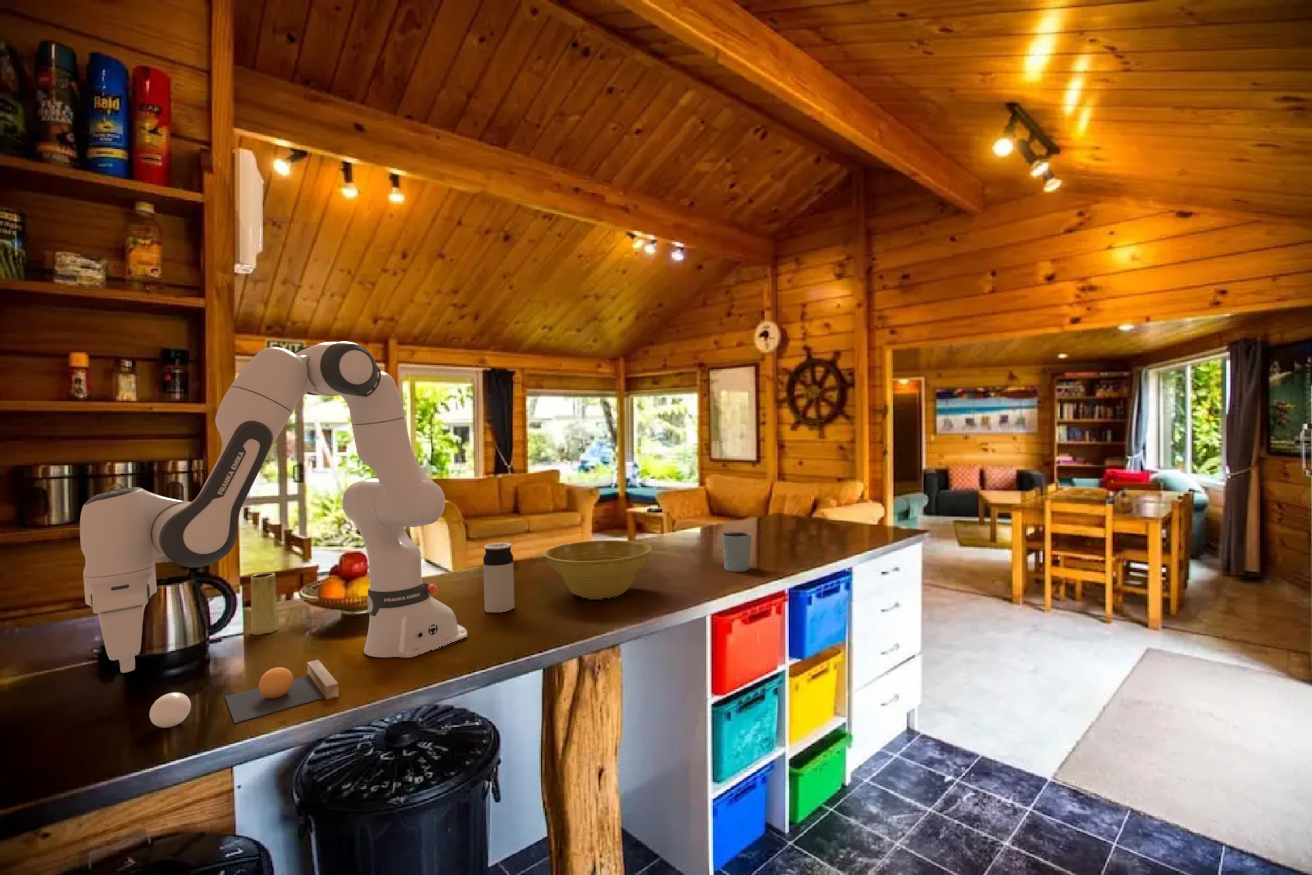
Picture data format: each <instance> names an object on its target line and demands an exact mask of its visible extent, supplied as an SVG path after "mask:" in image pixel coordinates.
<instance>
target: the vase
mask: <svg viewBox="0 0 1312 875" xmlns="http://www.w3.org/2000/svg"><path fill="white" fill-rule="evenodd" d="M276 585H277V584H276V574H275V572H263V573H257V574H254V575H251V576H250V608H251V611H250V612H251V613H250V614H251V616H250V617H251V618H250V635H252V634H253V636H261V634H263V635H266V634H265V633H268V634H272V633H274V631H275V632H277V631H278V630H279V629H280V626H279V615H278V612H279V611H278V601H277V592H276V591H277V589H276Z"/></svg>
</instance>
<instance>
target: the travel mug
mask: <svg viewBox="0 0 1312 875" xmlns="http://www.w3.org/2000/svg"><path fill="white" fill-rule="evenodd" d="M512 546H513V544H512V543H511V542H493V543H487V544H485V545H484V546H483V548H484V549H485V550H484V551H485V553H484V555H483V562H482V563H483V589H484V590H483V595H484V596H483V597H484V598H483V599H484V611H485V612H486V613H488V612H506V611H509V610H511V609H513V608H514V609H515V582H514V581H515V580H514V579H515V575H514V572H515V571H514V570H515V569H514V554H513V553H512V552H511V548H512ZM514 609H513V610H514ZM511 611H512V610H511ZM509 612H510V611H509ZM506 613H507V612H506Z"/></svg>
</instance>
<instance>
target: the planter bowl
mask: <svg viewBox="0 0 1312 875" xmlns="http://www.w3.org/2000/svg"><path fill="white" fill-rule="evenodd" d="M652 551H653V547H652V546H651V545H650V544H648V543H644V542H639V541H632V540H619V539H618V540H616V539H614V540H611V539H610V540H609V539H608V540H607V539H605V540H602V539H601V540H588V541H586V540H585V541H577V542H570V543H567V544H566V543H565V544H560V545H557V546H554V547H550V548H549V549H547V550H545V552H544V553H543V556H544V557H545V558H547V559H548V561H549V564H550V566H551V567H552V569H553V571H555V572H556V573H558V574H559V575H560V576H561V577H562V579H563V581H564V583H565V585H566V586H567V588H568V589H569V590H570V592H571V593H572V594H574V595H576V596H577V595H578V596H580V597H583V598H582V599H584V598H591V599H590V600H594V599H595V600H603V599H602V598H608V599H611V598H610V597H613V598H615V597H614V596H617V595H620V596H622V595H623V594H624V593H625V592H626V591H628V590H629V589H630V587H631V585H632V583H633V581H634V580H635V577H636V575H637V572H638V571H639V570H640V569H641V568H643V567H644V566H645V565H646V562H647V560H648V557H649V554H650V553H652ZM621 594H622V595H621ZM578 596H577V597H578ZM580 597H579V598H580ZM617 597H618V596H617Z"/></svg>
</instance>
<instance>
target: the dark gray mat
mask: <svg viewBox="0 0 1312 875" xmlns="http://www.w3.org/2000/svg"><path fill="white" fill-rule="evenodd" d="M224 699H225V701H226V704H227V707H228V710H229V712H230V715H231V718H232V720H233V724H234V725H236V724H238V723H243V722H246V721H250V720H253V719H257V718H260V717H263V716H267V715H270V714H273V713H277V712H281V711H285V710H288V709H291V708H294V707H295V706H296V707H298V706H302V705H303V706H304V705H305V704H309V703H312V702H317V701H321V700H323V699H326V698H325V696H324V695H323V693H322V692H321V691H320V689H319V688H318V687H317V685H316V684H315V682H314V681H313V680H312V678H311V677H310V676H309V675H308V674H307V675H304V676H298V677H295V678H294V677H293V685H292V687H291V689H290V690H289V691H288V692H287V693H286V694H285V695H283V696H282V697H279V698H275V699H270V698H266V697H265V696H263V695H262V694H261V692H260V690H259V687H256V688H252V689H249V690H248V689H247V690H245V691H240V692H236V693H233V694H229V695H225V696H224ZM249 719H250V720H249Z"/></svg>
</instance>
